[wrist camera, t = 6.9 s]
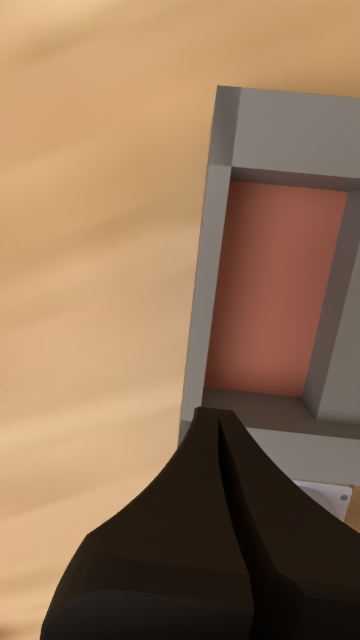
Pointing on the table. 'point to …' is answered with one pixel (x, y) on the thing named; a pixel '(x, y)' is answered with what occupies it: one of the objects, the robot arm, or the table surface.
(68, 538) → the table surface
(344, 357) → the trap track
